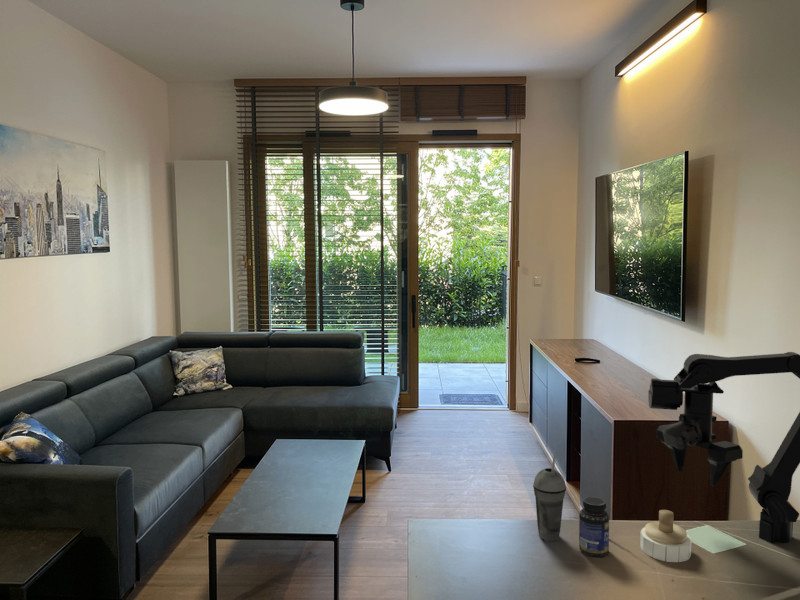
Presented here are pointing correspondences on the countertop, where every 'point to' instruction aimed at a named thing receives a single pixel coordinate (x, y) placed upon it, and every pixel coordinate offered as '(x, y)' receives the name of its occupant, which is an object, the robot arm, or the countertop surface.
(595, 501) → the pill bottle
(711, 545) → the mat
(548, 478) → the beverage cup
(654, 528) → the lid
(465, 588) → the countertop surface
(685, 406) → the robot arm
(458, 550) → the countertop surface
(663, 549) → the white faceted ring
